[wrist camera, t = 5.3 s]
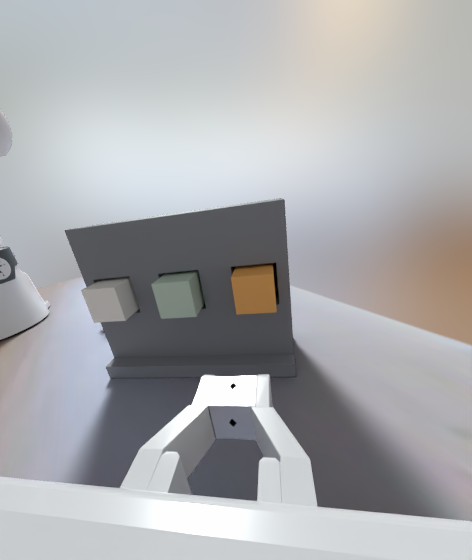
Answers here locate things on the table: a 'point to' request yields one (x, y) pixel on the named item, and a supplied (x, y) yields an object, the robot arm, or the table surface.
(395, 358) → the table surface
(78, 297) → the table surface
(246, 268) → the button orange
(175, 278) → the button sage
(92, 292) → the button offwhite
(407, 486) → the table surface
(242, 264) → the button panel
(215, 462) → the table surface
